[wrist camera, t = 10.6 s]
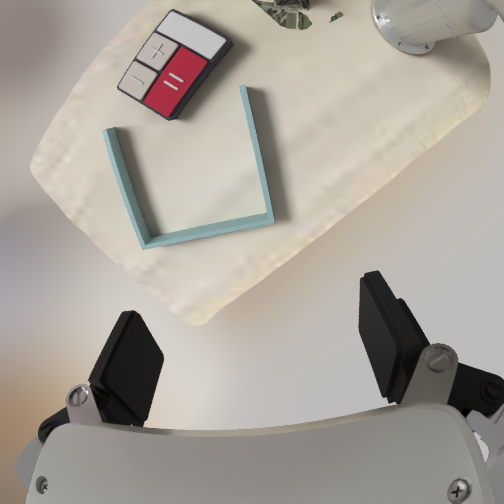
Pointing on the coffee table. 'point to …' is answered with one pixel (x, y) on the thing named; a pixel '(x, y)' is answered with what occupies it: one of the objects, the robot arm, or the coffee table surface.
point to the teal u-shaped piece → (195, 232)
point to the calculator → (173, 64)
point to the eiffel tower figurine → (290, 13)
